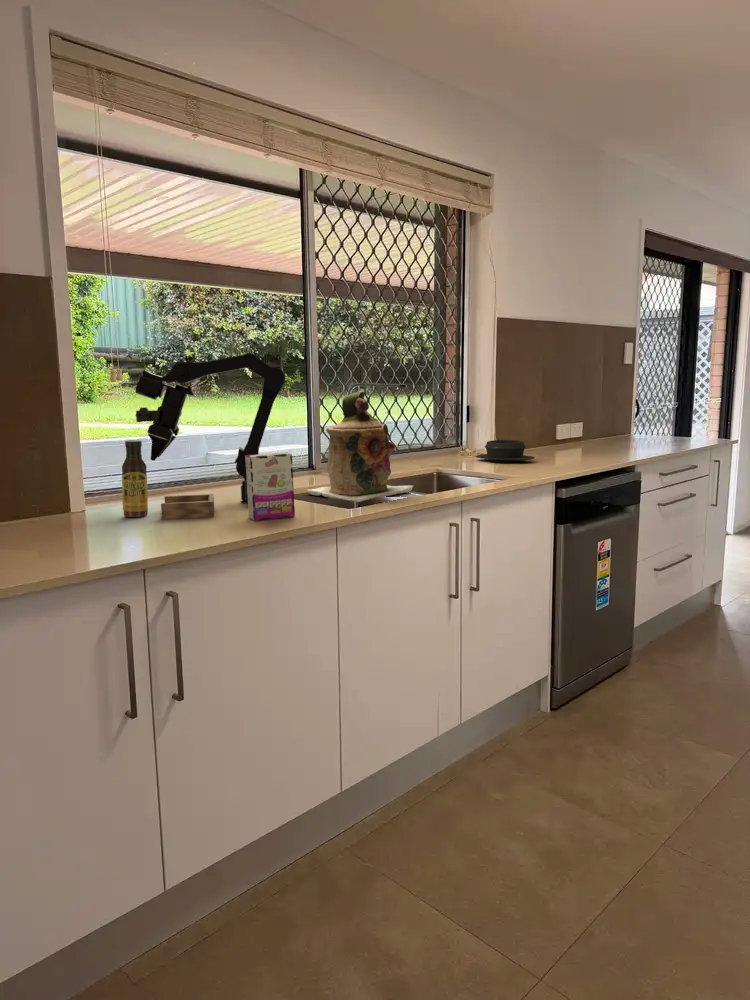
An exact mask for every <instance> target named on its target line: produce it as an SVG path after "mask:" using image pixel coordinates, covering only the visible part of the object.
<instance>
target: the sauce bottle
mask: <svg viewBox="0 0 750 1000" xmlns="http://www.w3.org/2000/svg"><path fill="white" fill-rule="evenodd" d="M142 444H143V443H142V441H141V440H138V439H137V440H135V439H134V440H125V441H124V445H125V452H126V453H125V459H124V462H123V463H122V465H121V475H122V476H121V489H122V510H123V516H124V517H125V518H130V519H131V518H142V517H143V518H144V517H146V516H148V512H149V511H148V510H149V505H148V504H149V501H148V500H149V498H148V476H147V475H148V474H147V465H146V463H145V461H144V460H143V457H142V446H143V445H142Z"/></svg>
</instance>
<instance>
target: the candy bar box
mask: <svg viewBox="0 0 750 1000" xmlns="http://www.w3.org/2000/svg"><path fill="white" fill-rule="evenodd" d="M245 461H246V477H247V493H248V503H247V508H248V519H250V520H252V521H254V522H257V521H258V522H259V521H267V520H268V521H269V520H277V519H283V518H284V519H285V518H291V517H292V518H294V517H295V516H296V515H295V514H296V513H295V512H296V511H295V508H296V507H295V492H294V491H295V490H294V489H295V488H294V470H293V454H292V453H290V452H288V451H287V452H272V453H271V452H270V453H262V454H261V453H258V455H246V456H245Z"/></svg>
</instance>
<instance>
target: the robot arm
mask: <svg viewBox="0 0 750 1000" xmlns="http://www.w3.org/2000/svg"><path fill="white" fill-rule="evenodd" d="M241 369H250V370H251V371H253V372H254V373H255V374H257V375H258V376H260V377H261V378H263V384H262V385H263V387H262V393H261V399H260V403H259V405H258V409H257V411H256V414H255V418H254V421H253V423H252V427H251V431H250V434H249V435H248V436H249V437H248V440H247V441H246V442H247V443H246V444H245V446H244V448H243V447H240V446H239V447H238V454H237V457H236V458H235V460H234V463H235V469H236V473H237V474H238V475H239V476H241V477H242V478H243V480H242V481H241V486H240V497H241V498H240V499H241V500H240V504H248V493H247V477H246V461H245V456H246V455H258V454H260V453H259V450H260V445H261V443H262V439H263V437H264V434H265V430H266V428H267V424H268V421H269V418H270V415H271V412H272V408H273V405H274V403H275V400H276V398H277V397H278V395H279V393H280V392H281V389H282V387H283V386H284V383H285V380H286V376H285V373H284V371H283V370H282V369H280V368H279V367H271V366H270V365H267V364H266V363H265V362H263V361H262V360H260V359H259V358H258V357H256V355H254V354H253V353H250V352H247V353H245V354H241V355H236V356H235V355H234V356H229V357H226V358H225V357H224V358H219V359H213V360H208V361H180V362H179V361H178V362H177V363H175V364H174V365H173V366H172V368H171V369H170V371H169V372H168V373H166V374H164V375H163V376H160V375H157V374H154V373H152V372H150V371H149V370H143V371H142V374H141V376H140V378H139V380H138V381H137V384H136V387H135V394H138V395H141V396H143V397H146V398H149V399H152V400H154V401H157V399H158V398H160V399H161V398H162V402H161V403H160V404H161V405H159V406H158V407H157V409H148V408H149V407H142V406H141V407H139V409H137V410H135V417H136V418H135V420H136V423H142V422H152V424H151V425H149V426H148V429H147V436H149V438H150V440H151V451H150V460H151V461H153V462H154V461H156V460H157V459H158V458H160V457H161V456H162V455H163V453H164V452H165V451H166V450H167V449H168V447H169V446H170V445H171V444H172V443H173V441H174V440H175V439H176V438H177V436H178V434H179V431H180V427H179V426H178V425H179V424H178V423H179V421H180V417H181V416H182V415H183V408H184V405H185V401H186V399H187V395H190V396H191V397H193V396H195V395H196V394H195V392H194V390H193V389H192V388H193V386H191V385H189V386H188V387H187V386H183V385H181V384H187V383H190V382H193V381H197V380H199V379H200V378H204V377H206V376H210V375H215V374H219V373H220V374H221V373H225V372H232V371H236V370H237V371H238V370H241ZM175 382H176V385H175V386H173V385H170V384H171V383H175ZM167 383H170V384H167ZM165 388H166V389H165ZM164 391H165V393H164ZM162 396H163V397H162Z"/></svg>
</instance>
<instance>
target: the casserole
mask: <svg viewBox="0 0 750 1000" xmlns="http://www.w3.org/2000/svg"><path fill="white" fill-rule="evenodd" d="M526 447H527V446H526V445H525V442H524V441H522V440H517V439H516V440H515V439H513V440H512V439H496V440H495V439H494V440H487V441H486V444H485V445H484V448H485V449H486V453H483V454H477V455H476V456H475V457H476V459H485V460H488V461H490V462H492V463H497V464H498V463H501V464H503V463H505V464H508V463H509V464H511V463H512V464H513V463H518V462H521V461H528V460H534V459H535V458H536V457H535V456H532V455H524V453H525V449H526Z"/></svg>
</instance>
